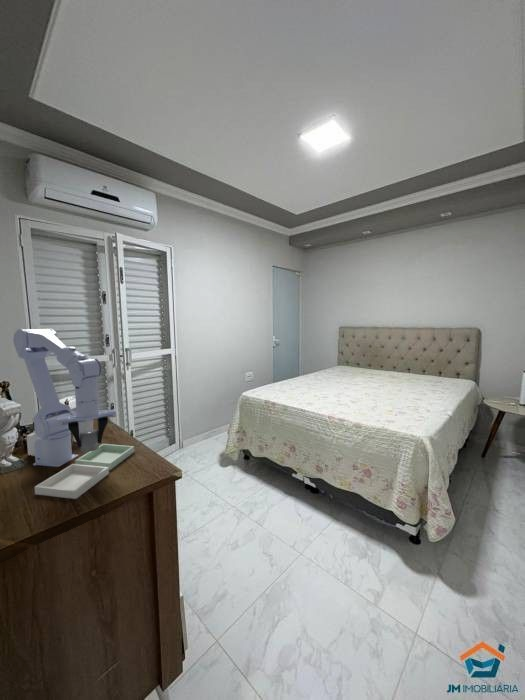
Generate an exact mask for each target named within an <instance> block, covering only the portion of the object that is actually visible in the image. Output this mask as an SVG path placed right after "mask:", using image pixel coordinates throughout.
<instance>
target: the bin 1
mask: <svg viewBox="0 0 525 700" xmlns="http://www.w3.org/2000/svg"><path fill="white" fill-rule="evenodd" d="M109 472H110V470H109V467H101V466H91V465H80V464H75V463H71V464H70V465H68V466H67V467H65V468H63V469H62V470H60V471H59V472H57V473H55V474H54V475H51V476H49V477H48V478H47V479H45V480H43V481H42V482H40V483H38V484H37V485H35V486H34V495H37V496H47V497H56V498H65V499H70V500H71V499H72V500H77V499H78V498H80V497H81V496H82V495H83V494H84V493H86V492H87V491H88V490H89V489H91V488H92V487H94V486H95V485H96V484H97V483H99V482H100V481H101V480H103V479H104V478H105V477H107V476H108V475H109Z"/></svg>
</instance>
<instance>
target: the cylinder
mask: <svg viewBox="0 0 525 700" xmlns="http://www.w3.org/2000/svg"><path fill="white" fill-rule="evenodd" d="M80 443H81V447H80V452H83V453H88V452H90V451H94V450H96V449H98V448H99V446H100V443H99V441H98V429H94V428H93V429H92V430H86V431H83V432H81V433H80Z"/></svg>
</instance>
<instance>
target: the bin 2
mask: <svg viewBox="0 0 525 700" xmlns="http://www.w3.org/2000/svg"><path fill="white" fill-rule="evenodd" d="M134 453H135V446H134V445H124V444H123V445H122V444H121V445H120V444H113V443H111V444H110V443H101V444H99V448H98V449H96V450H94V451H90V452H86V453H85V454H83V455H82V456H79V458H77V459H75V460H74V461H75V462H74V464H80V465H91V466H101V467H109V471H111V470H112V469H114V468H115V467H117V466H118V465H119V464H120V463H122V462H124V460H126V459H127V458H128V457H130V456H131V455H132V454H134Z"/></svg>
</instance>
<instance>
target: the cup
mask: <svg viewBox="0 0 525 700" xmlns="http://www.w3.org/2000/svg"><path fill="white" fill-rule="evenodd" d="M71 410H72V412H73V413H74V414H76V406H75V407H72V408H71ZM78 423H79V437H80V433H81V432H83V431H86V430H92V429H94V420H90V421H84V422H78ZM72 436H73V435H72ZM73 442H75V443H77V442H76V439H75V437H74V436H73Z"/></svg>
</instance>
